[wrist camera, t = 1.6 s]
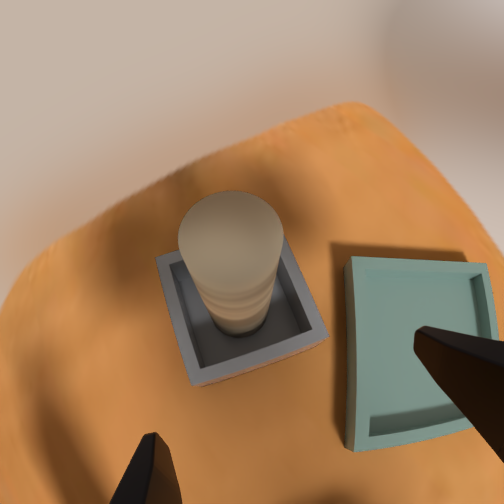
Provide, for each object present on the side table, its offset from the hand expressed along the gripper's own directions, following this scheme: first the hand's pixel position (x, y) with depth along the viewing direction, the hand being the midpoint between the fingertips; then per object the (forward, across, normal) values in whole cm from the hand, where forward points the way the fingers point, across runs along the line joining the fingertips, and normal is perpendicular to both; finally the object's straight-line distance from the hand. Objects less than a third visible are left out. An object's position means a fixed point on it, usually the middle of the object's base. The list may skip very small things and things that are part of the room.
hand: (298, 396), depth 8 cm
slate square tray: (+13, 0, +4) cm, 14 cm away
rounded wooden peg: (+13, 0, +4) cm, 13 cm away
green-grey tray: (+7, -13, +10) cm, 18 cm away
